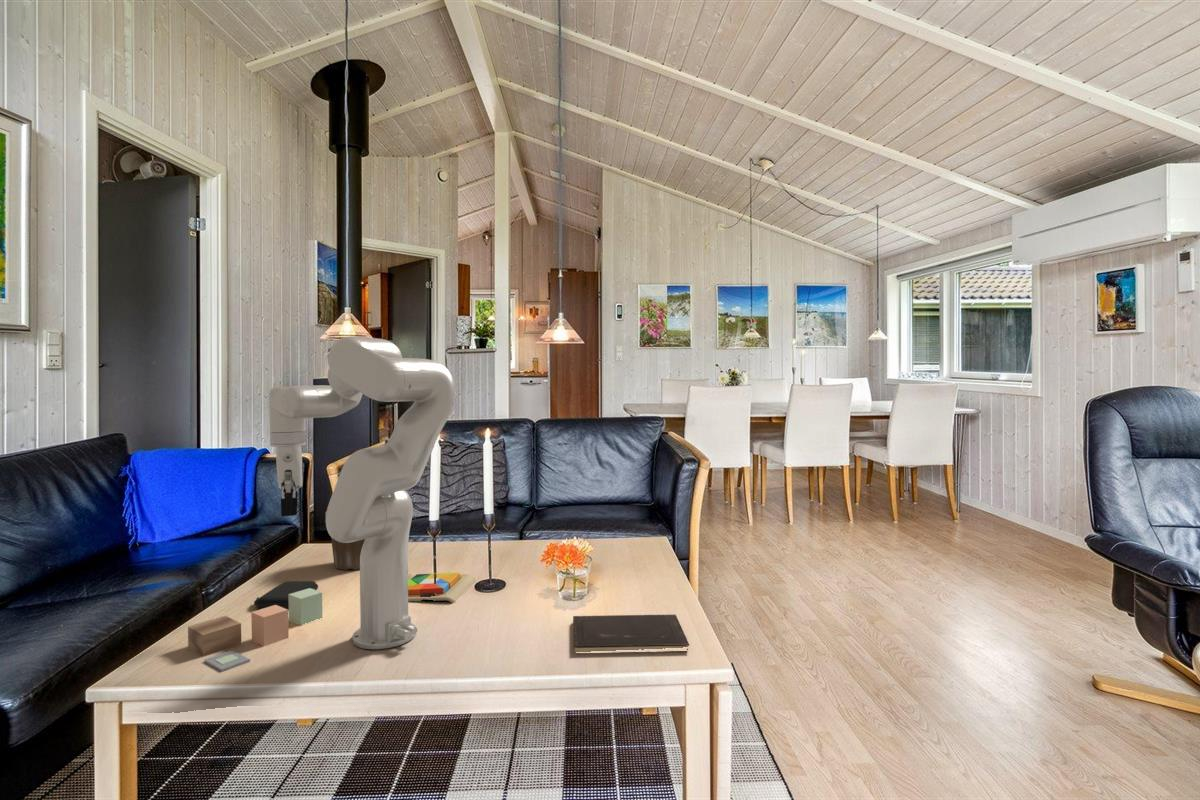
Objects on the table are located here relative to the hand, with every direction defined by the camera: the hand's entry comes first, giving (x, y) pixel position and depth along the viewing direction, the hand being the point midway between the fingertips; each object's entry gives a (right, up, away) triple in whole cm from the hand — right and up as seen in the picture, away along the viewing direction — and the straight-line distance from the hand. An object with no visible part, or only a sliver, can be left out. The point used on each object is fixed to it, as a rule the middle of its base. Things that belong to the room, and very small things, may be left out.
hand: (289, 511), depth 143 cm
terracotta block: (+4, -24, -16) cm, 29 cm away
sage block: (+7, -23, -6) cm, 25 cm away
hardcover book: (+79, -25, -15) cm, 84 cm away
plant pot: (+2, -22, +35) cm, 41 cm away
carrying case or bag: (-4, -23, +6) cm, 25 cm away
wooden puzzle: (+29, -24, +14) cm, 40 cm away
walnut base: (-5, -24, -20) cm, 31 cm away
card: (+2, -24, -27) cm, 36 cm away
